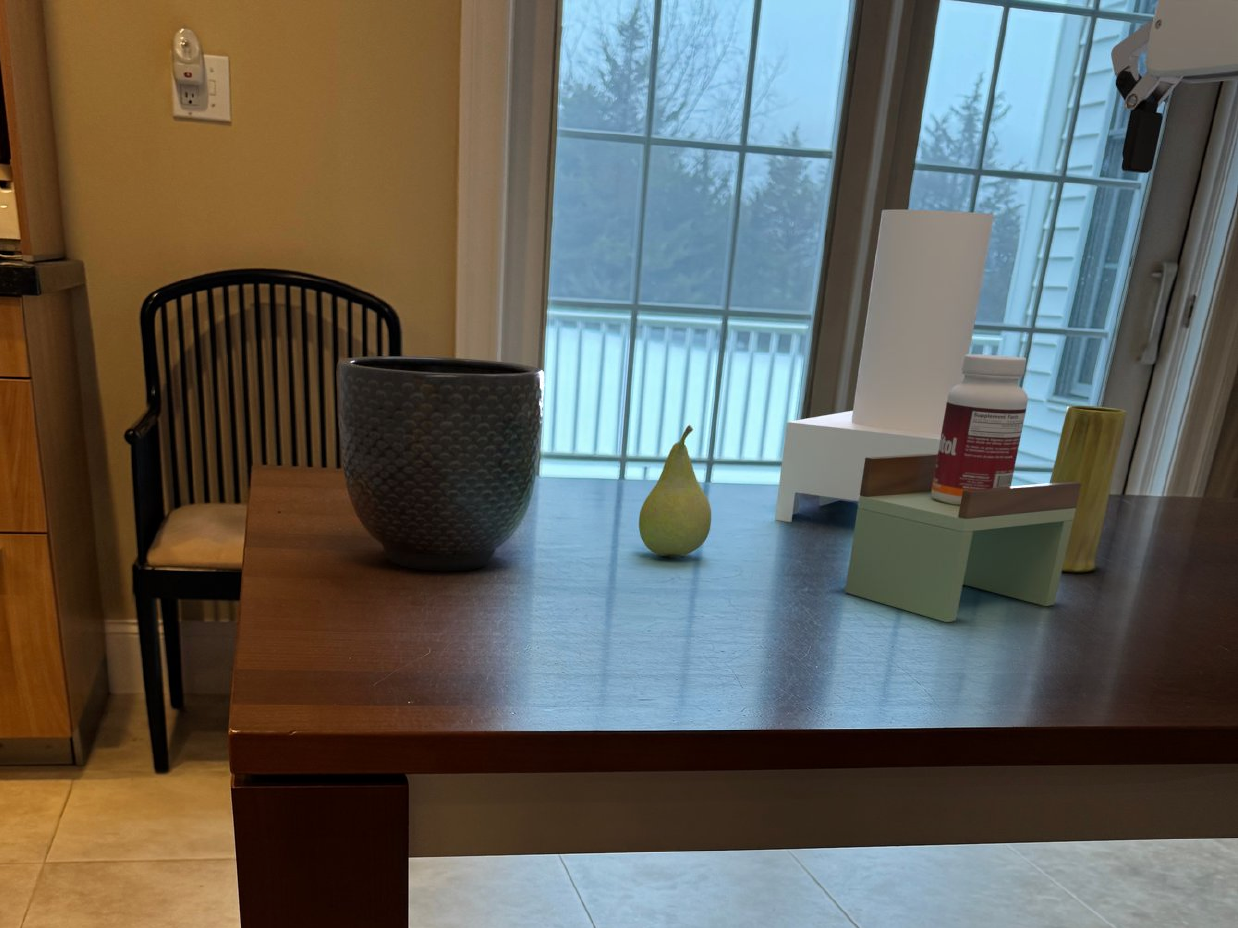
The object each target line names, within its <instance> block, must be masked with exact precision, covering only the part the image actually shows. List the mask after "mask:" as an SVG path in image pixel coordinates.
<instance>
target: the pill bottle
mask: <svg viewBox="0 0 1238 928" xmlns="http://www.w3.org/2000/svg"><path fill="white" fill-rule="evenodd" d="M1026 365H1027V358H1026V357H1020V356H1012V355H1011V356H1010V355H998V354H997V355H995V354H981V353H980V354H979V353H978V354H977V353H969V354H967V355H965V358H964V363H963V367H962V374H964V379H963V381H962V382H961V383H960V384H957V385H956V386H954V387H953V388H952V389H951V390H950V392H949V394H948V399H947V403H946V410H945V415H944V421H943V427H942V433H941V439H940V445H939V451H938V456H937V462H936V467H935V473H934V478H933V484H932V491H931V493H932V496H933V498H935V499H936V500H938V501H941V502H945V503H949V504H953V505H960V504H961V498H962V493H963V490H973V489H986V488H998V487H1010V486H1012V483H1013V477H1014V473H1015V468H1016V463H1017V459H1018V457H1017V456H1018V453H1019V448H1020V443H1021V438H1022V433H1023V427H1024V423H1025V418H1026V414H1027V409H1028V408H1027V407H1028V402H1029V397H1028V394H1027V392H1026V391H1025V390H1024V389H1023V388H1022V387H1021V386H1020V384H1019V381H1020V379H1022V378H1023V376H1024V375H1025V373H1026V372H1025V371H1026Z"/></svg>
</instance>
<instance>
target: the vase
mask: <svg viewBox="0 0 1238 928" xmlns="http://www.w3.org/2000/svg"><path fill="white" fill-rule="evenodd" d="M1127 413H1128V411H1127V410H1125V409H1121V408H1116V407H1106V406H1096V405H1068V406H1067V407H1066V410H1065V414H1064V419H1063V420H1064V421H1063V424H1062V428H1061V433H1060V436H1059V441H1058V445H1057V449H1056V455H1055V460H1054V464H1053V468H1052V472H1051V476H1050V480H1049V483H1059V482H1071V481H1075V482H1081V483H1082V484H1081V488H1080V493H1079V497H1078V501H1077V506H1076V510H1075V514H1074V519H1073V524H1072V528H1071V532H1070V537H1069V541H1068V545H1067V550H1066V554H1065V559H1064V563H1063V567H1062V572H1061V573H1074V574H1076V573H1077V574H1078V573H1079V574H1080V573H1089V572H1092V571H1094V570H1095V569H1096V555H1097V551H1098V546H1099V543H1100V539H1101V535H1102V532H1103V526H1104V523H1105V518H1106V513H1107V507H1108V503H1109V498H1110V494H1111V489H1112V484H1113V478H1114V474H1115V470H1116V464H1117V460H1118V455H1119V450H1120V446H1121V442H1122V439H1123V434H1124V430H1125V424H1126V420H1127Z"/></svg>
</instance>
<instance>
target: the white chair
mask: <svg viewBox="0 0 1238 928" xmlns="http://www.w3.org/2000/svg"><path fill="white" fill-rule="evenodd" d="M994 219H995V214H991V213H985V212H970V211H955V210H933V209H882V211H881V217H880V224H879V230H878V237H877V245H876V251H875V259H874V265H873V271H872V278H871V286H870V292H869V299H868V306H867V313H866V320H865V327H864V332H863V339H862V347H861V353H860V361H859V367H858V374H857V381H856V388H855V395H854V401H853V409H852V410H849V411H844V412H836V413H830V414H825V415H820V416H814V417H808V418H803V419H796V420H790V421H786V426H785V432H784V433H785V434H784V441H783V442H784V443H783V449H782V457H781V466H780V473H779V482H778V490H777V499H776V507H775V508H776V509H775V515H774V520H775V521H781V522H788V523H792V520H793V519H792V518H793V515H795V514H798V513H800V508H801V507H800V506H801V499H802V494H803V495H804V494H806V495H811V496H818V497H819V498H818V505H817V506H818V507H821V506H824V505H828V504H830V503H834V502H838V501H845V502H852V503H856V502H859V496H860V490H861V483H862V476H863V470H864V463H865V458H866V457H882V456H899V455H917V454H934V453H938V451H939V445H940V439H941V433H942V427H943V421H944V415H945V410H946V403H947V399H948V394H949V392H950V390H951V389H952V388H953V387H954V386H956V385H957V384H960V383H961V382H962V381H963V379H964V374H962V367H963V363H964V358H965V355H967V354H970V351H971V345H972V340H973V334H974V329H975V323H976V318H977V312H978V307H979V301H980V296H981V291H982V285H983V279H984V273H985V268H986V262H987V257H988V253H989V251H988V250H989V246H990V240H991V235H992V229H993V224H994Z"/></svg>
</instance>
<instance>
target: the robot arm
mask: <svg viewBox="0 0 1238 928" xmlns="http://www.w3.org/2000/svg"><path fill="white" fill-rule="evenodd" d="M1145 52H1146V57H1145V69H1146V72H1145V73H1144V74H1143V76H1142V75H1141V74H1140V73H1139V69H1138V68H1139V64H1138V60H1139V58H1140V56H1141V55H1142V54H1144V53H1145ZM1110 57H1111V62H1112V67H1113V71H1114V76H1115V77H1116V79H1115V87H1116V89H1117V90H1118V92H1119V94H1120V95H1121V97H1122V99H1123V100H1124V108H1125V110H1126V111H1129V118H1128V123H1127V126H1126V131H1125V136H1124V137H1125V138H1124V142H1123V147H1122V151H1121V155H1122V162H1121V170H1122V171H1123V172H1129V173H1137V174H1148V173H1149V172H1150V171H1152V169H1153V166H1154V161H1155V157H1156V152H1157V148H1158V142H1159V138H1160V135H1161V134H1160V133H1161V129H1162V124H1163V117H1164V116H1163V112H1157V111H1158V108H1159V107H1160V106H1161V104H1162V103H1163V102H1164V101H1165V100H1166V99H1167V98H1168V96H1170V94H1171V93H1172V91H1174V89H1175V88H1176V87H1177V85H1178V84H1179V83H1180V82H1182V83H1186V84H1201V83H1215V82H1216V83H1217V82H1226V81H1237V80H1238V0H1157V4H1156V8H1155V11H1154V16H1153V18H1152V19H1151V20H1150V21H1148V22H1147V23H1145V24H1144V25H1143V26H1141V27H1139V28H1138V29H1137V30H1135V31H1133V33H1131V34H1130V35H1129V36H1126V38H1124V39H1123V40H1121V41H1119V42H1118V43H1117V44H1116V45H1114V46H1113V47H1112V50H1111V52H1110Z"/></svg>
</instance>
